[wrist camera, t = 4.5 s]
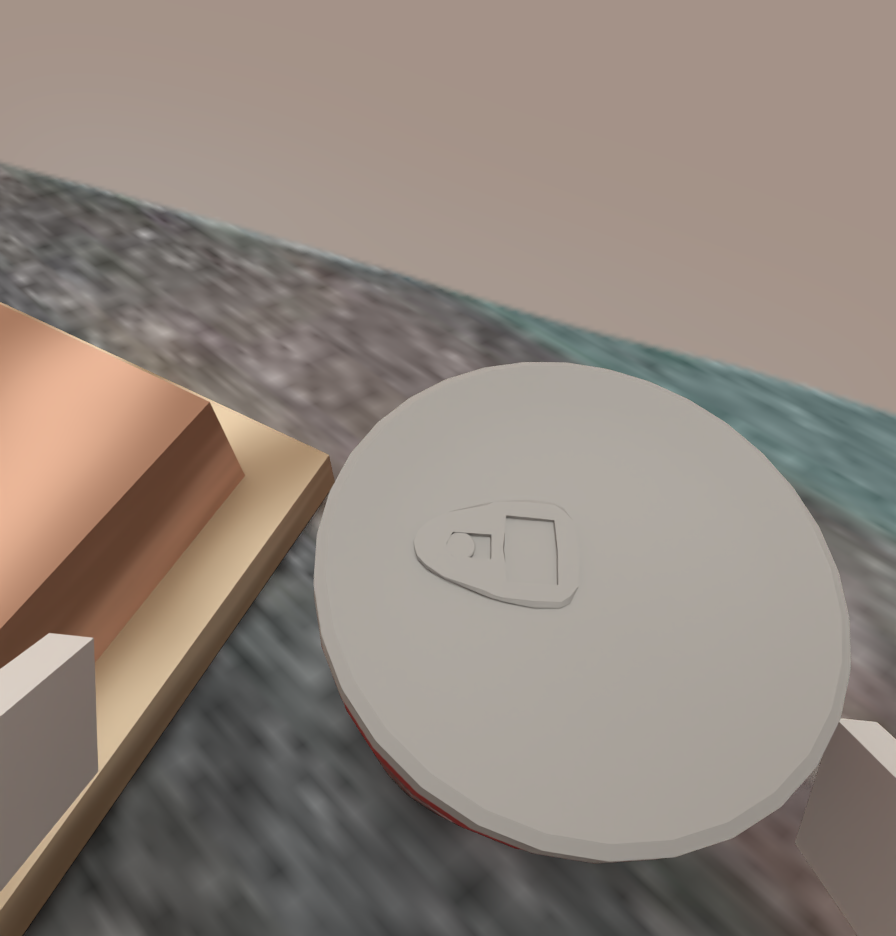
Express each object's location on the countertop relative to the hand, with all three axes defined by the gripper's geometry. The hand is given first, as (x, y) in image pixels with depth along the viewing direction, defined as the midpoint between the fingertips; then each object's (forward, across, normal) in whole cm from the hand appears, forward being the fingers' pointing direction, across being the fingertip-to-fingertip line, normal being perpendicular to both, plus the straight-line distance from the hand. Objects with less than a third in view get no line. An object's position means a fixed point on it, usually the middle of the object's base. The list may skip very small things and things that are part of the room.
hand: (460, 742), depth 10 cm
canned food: (+7, +1, -4) cm, 8 cm away
